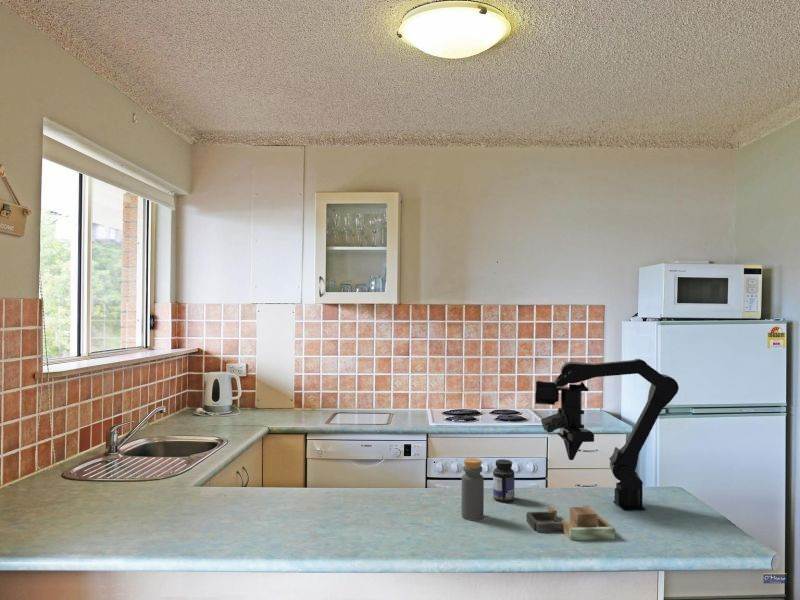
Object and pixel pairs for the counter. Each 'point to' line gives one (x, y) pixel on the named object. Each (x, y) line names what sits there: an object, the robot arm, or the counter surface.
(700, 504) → the counter surface
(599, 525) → the channel
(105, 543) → the counter surface
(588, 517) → the walnut block
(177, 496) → the counter surface
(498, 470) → the pill bottle
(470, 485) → the bottle
